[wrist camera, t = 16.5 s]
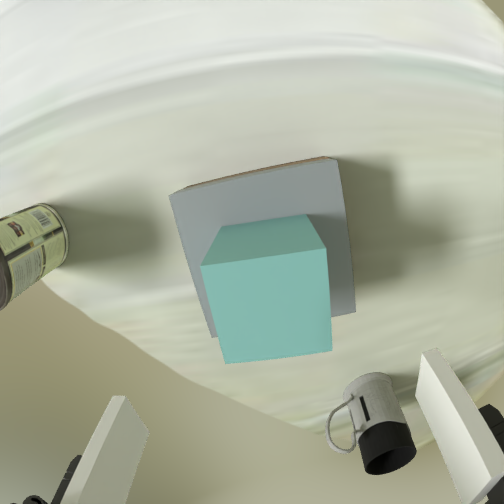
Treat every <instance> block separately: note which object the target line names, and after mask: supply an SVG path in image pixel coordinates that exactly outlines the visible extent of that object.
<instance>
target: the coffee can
mask: <svg viewBox="0 0 504 504" xmlns="http://www.w3.org/2000/svg"><path fill="white" fill-rule="evenodd" d="M68 245H69V242H68V234H67V230H66V227H65V224H64V222H63V220H62V218H61V217H60V216H59V214H58V213H57V212H56V211H55V210H54V209H53V208H51V207H50V206H48V205H45V204H35V205H33V206H31V207H28V208H26V209H23V210H21V211H18V212H15V213H13V214H10V215H8V216H5V217H3V218H1V219H0V310H2V309H3V308H4V307H5V306H6V305H7V304H8V303H9V302H10V301H12V300H13V299H14V298H16V297H17V296H18V295H19V294H21V293H22V292H23V291H25V290H26V289H27V288H28V287H29V286H31V285H33V284H34V283H35V282H37V281H38V280H39V279H41V278H42V277H44V276H45V275H46V274H48V273H49V272H50V271H52V270H53V269H55V268H57V267H58V266H60V265H61V264H62V263H63V262H64V260H65V258H66V256H67V253H68Z"/></svg>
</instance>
